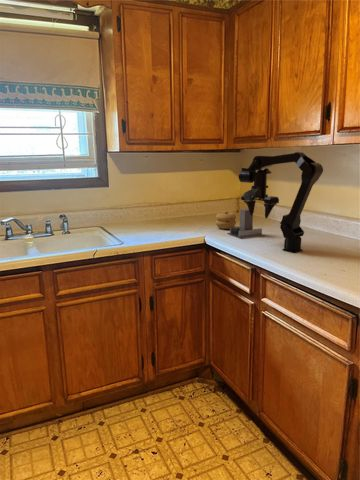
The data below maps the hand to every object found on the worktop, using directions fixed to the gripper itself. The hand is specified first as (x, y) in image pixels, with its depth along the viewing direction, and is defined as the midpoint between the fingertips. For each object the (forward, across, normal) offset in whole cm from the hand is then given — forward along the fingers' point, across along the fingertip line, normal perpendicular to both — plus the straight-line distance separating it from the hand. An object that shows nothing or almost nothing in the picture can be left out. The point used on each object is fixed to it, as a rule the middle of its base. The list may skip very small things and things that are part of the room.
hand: (258, 216), depth 177 cm
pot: (+13, -36, +12) cm, 40 cm away
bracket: (+13, -17, +9) cm, 23 cm away
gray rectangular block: (+12, -17, +9) cm, 23 cm away
